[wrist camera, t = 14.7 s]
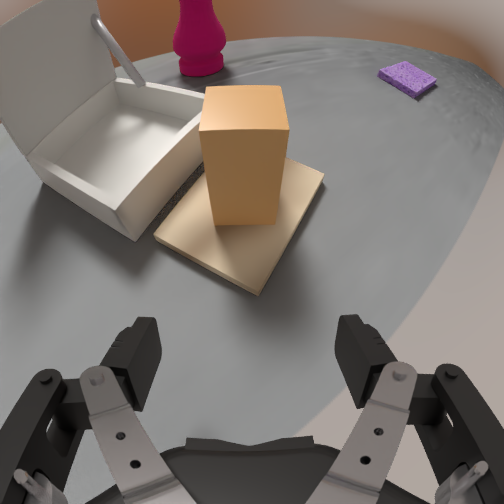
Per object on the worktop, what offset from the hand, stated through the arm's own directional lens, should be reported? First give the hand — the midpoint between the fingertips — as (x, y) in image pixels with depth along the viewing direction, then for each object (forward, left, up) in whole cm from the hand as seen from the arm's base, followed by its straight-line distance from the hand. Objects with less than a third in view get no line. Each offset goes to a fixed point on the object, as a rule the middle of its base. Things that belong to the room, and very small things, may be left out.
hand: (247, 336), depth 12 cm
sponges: (+4, +48, -8) cm, 49 cm away
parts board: (-6, +10, -7) cm, 13 cm away
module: (-6, +10, -6) cm, 13 cm away
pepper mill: (-24, +29, -7) cm, 38 cm away
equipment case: (-20, +10, -7) cm, 23 cm away
